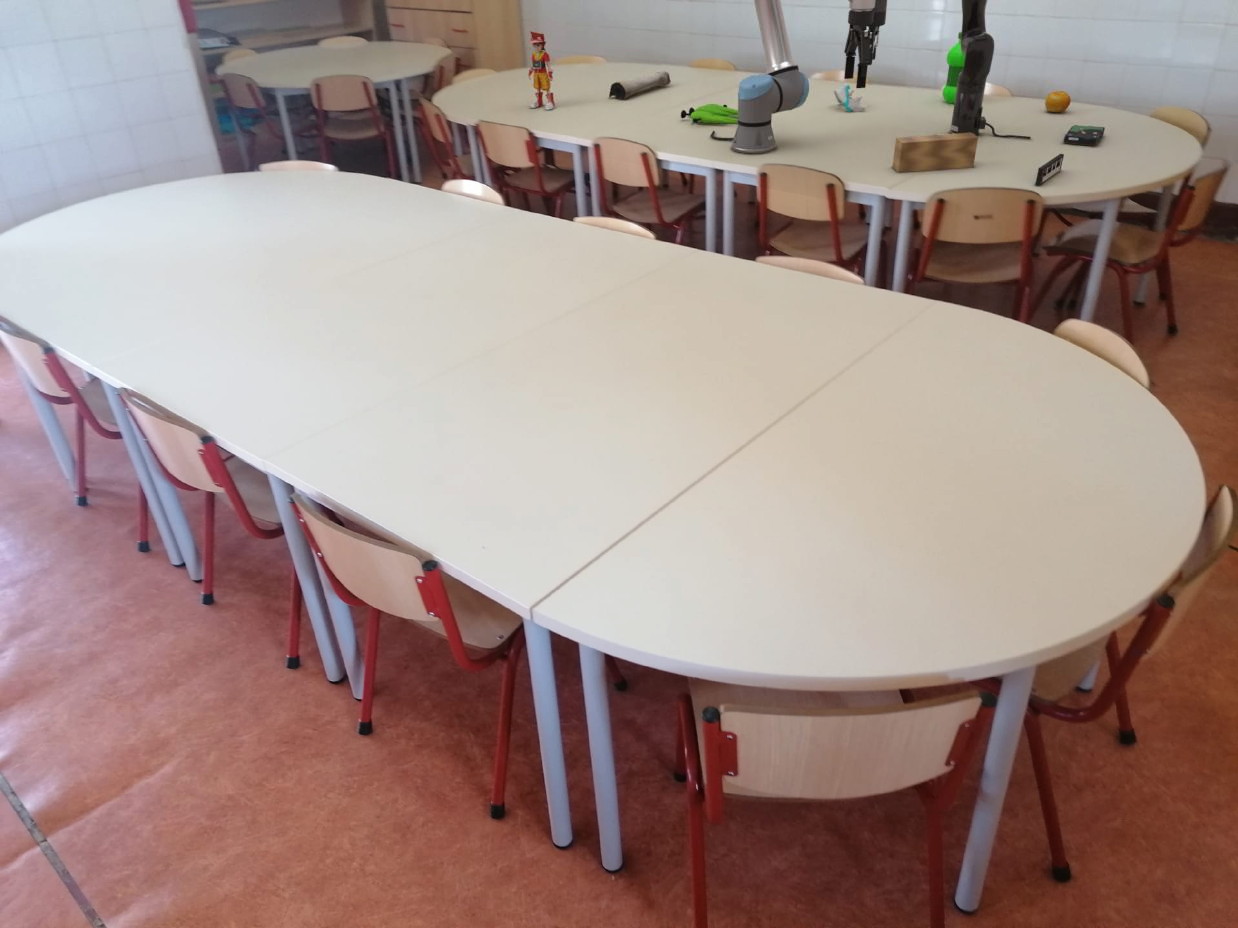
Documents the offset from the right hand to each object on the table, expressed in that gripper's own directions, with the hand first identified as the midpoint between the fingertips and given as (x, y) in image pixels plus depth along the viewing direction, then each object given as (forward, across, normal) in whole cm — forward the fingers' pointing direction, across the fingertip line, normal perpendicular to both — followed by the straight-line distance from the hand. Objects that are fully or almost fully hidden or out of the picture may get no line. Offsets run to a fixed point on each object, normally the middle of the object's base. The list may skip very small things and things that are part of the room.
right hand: (870, 62), depth 304 cm
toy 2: (+25, +19, +57) cm, 65 cm away
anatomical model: (+26, +45, +12) cm, 53 cm away
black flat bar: (+26, -33, -60) cm, 73 cm away
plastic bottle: (+26, +59, -27) cm, 70 cm away
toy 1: (+24, +28, +138) cm, 143 cm away
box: (+26, -28, -26) cm, 46 cm away
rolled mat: (+25, +61, +105) cm, 124 cm away
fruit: (+27, +49, -64) cm, 85 cm away
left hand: (+1, -25, +2) cm, 25 cm away
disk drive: (+27, +12, -72) cm, 78 cm away
